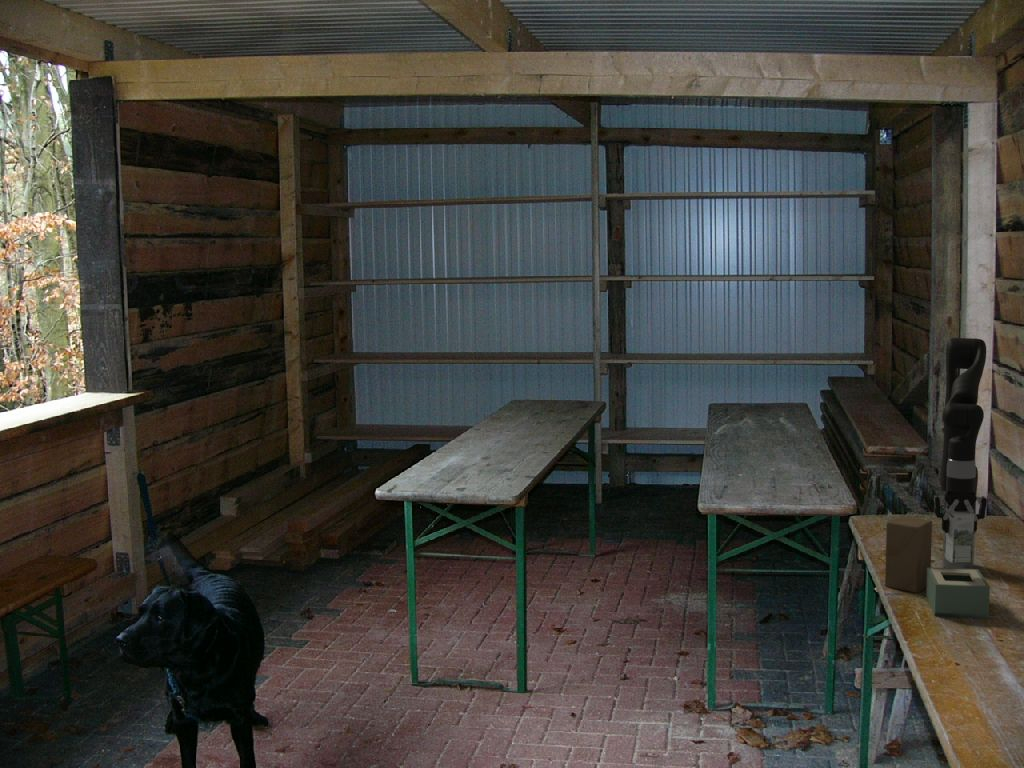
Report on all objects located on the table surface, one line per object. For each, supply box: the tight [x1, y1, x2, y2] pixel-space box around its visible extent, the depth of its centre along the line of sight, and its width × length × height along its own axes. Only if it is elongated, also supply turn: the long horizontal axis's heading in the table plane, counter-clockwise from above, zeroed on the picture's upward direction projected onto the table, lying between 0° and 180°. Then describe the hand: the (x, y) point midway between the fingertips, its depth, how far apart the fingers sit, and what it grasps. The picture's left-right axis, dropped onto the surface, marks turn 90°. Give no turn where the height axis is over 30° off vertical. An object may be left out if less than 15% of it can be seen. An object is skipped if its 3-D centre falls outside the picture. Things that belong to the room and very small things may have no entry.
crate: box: [925, 566, 991, 619], centre depth 318 cm, size 16×14×9 cm
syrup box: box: [944, 510, 974, 564], centre depth 315 cm, size 6×6×14 cm
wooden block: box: [884, 515, 933, 593], centre depth 337 cm, size 10×10×20 cm
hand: (959, 532), depth 315 cm, fingers closed on syrup box, 6 cm apart
